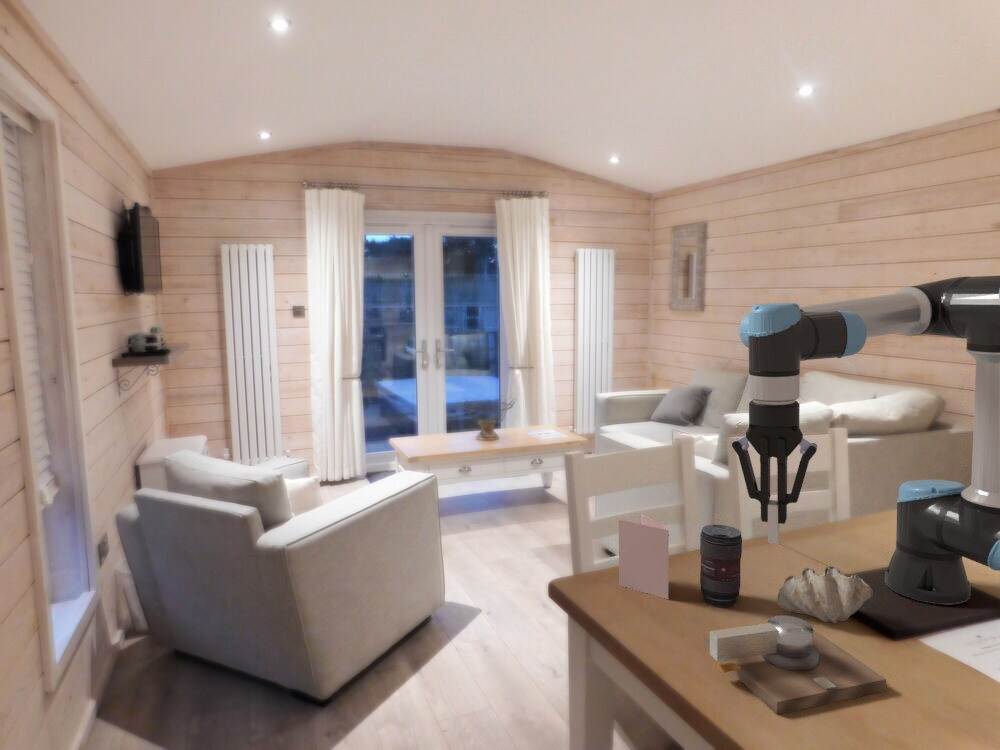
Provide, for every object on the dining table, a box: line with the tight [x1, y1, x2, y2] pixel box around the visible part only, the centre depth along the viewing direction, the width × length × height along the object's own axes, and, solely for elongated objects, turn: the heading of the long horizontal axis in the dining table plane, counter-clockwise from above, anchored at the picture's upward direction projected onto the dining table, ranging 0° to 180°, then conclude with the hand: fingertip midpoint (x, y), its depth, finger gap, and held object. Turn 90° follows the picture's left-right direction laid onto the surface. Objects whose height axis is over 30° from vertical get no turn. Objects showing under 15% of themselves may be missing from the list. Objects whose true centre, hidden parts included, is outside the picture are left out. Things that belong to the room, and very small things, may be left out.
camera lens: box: [699, 524, 743, 608], centre depth 136 cm, size 8×8×15 cm
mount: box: [703, 628, 887, 715], centre depth 111 cm, size 23×20×4 cm
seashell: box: [776, 565, 874, 624], centre depth 128 cm, size 10×15×10 cm
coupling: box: [709, 615, 814, 662], centre depth 110 cm, size 18×7×4 cm, turn 101°
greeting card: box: [618, 512, 670, 600], centre depth 141 cm, size 11×7×15 cm, turn 17°
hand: (773, 540), depth 109 cm, fingers closed
